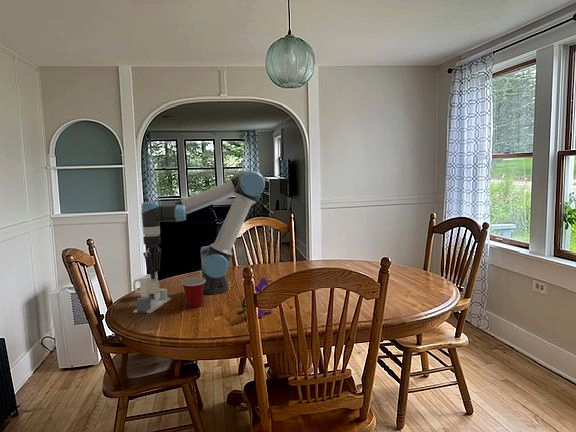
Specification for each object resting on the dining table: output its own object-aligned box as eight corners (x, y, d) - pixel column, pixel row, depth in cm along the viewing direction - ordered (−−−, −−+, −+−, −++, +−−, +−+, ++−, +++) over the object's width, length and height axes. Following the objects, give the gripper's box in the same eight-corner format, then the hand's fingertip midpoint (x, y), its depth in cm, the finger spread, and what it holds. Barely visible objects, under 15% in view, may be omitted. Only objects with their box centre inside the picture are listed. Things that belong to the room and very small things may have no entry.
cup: (155, 298, 211) (154, 278, 210) (130, 299, 211) (129, 278, 210) (160, 293, 219) (159, 273, 218) (136, 294, 219) (135, 274, 218)
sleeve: (151, 298, 203) (150, 280, 202) (160, 299, 202) (159, 280, 201) (147, 301, 199) (145, 282, 198) (156, 301, 198) (155, 282, 197)
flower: (238, 329, 181) (261, 318, 174) (224, 295, 183) (245, 284, 176) (259, 318, 193) (281, 308, 186) (245, 287, 195) (266, 276, 188)
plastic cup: (180, 310, 191) (179, 283, 190) (184, 303, 202) (183, 277, 201) (205, 309, 192) (204, 282, 191) (208, 301, 203) (206, 276, 201)
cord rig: (155, 298, 210) (154, 286, 209) (170, 299, 209) (169, 287, 208) (133, 312, 190) (132, 299, 190) (150, 313, 189) (149, 299, 188)
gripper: (151, 233, 207) (154, 281, 209) (136, 237, 194) (140, 289, 196) (165, 233, 205) (168, 282, 208) (152, 237, 192) (155, 289, 195)
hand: (154, 285), depth 202 cm, fingers closed
